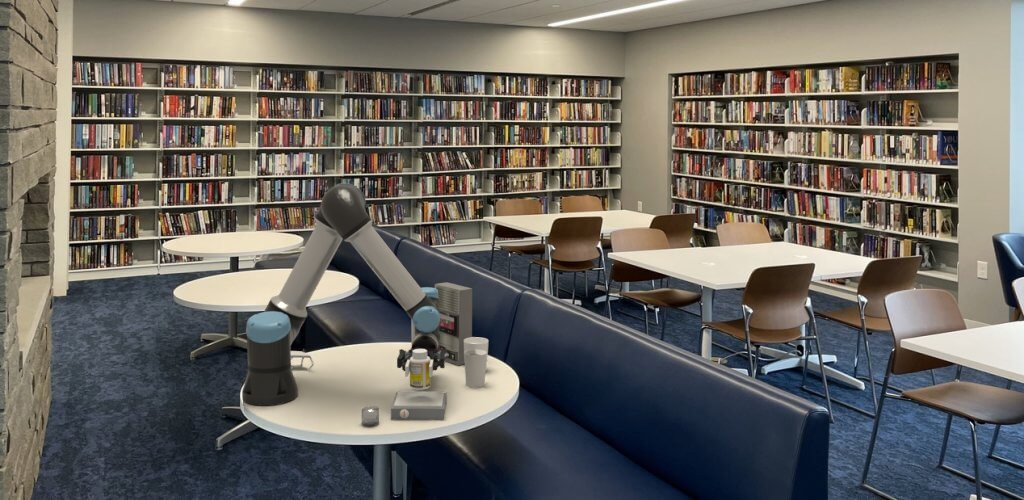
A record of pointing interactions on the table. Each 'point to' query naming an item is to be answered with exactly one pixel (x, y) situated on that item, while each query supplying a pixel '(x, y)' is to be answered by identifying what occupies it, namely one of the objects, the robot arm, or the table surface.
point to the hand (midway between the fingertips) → (418, 371)
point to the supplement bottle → (419, 370)
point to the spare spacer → (370, 416)
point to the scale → (419, 405)
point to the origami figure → (301, 355)
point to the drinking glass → (475, 368)
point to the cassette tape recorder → (454, 320)
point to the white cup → (476, 345)
